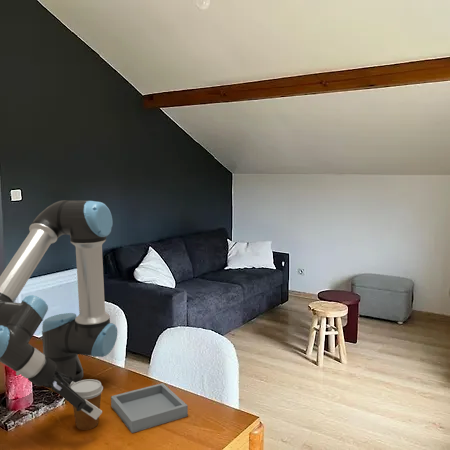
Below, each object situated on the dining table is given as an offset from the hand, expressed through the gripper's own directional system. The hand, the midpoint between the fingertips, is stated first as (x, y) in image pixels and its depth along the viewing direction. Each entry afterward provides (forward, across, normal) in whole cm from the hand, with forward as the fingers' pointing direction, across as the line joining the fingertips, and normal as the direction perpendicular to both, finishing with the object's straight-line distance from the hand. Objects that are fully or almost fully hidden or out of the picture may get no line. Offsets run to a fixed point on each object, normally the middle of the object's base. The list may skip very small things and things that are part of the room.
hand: (92, 405), depth 139 cm
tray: (+16, +2, +8) cm, 18 cm away
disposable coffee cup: (+3, 0, -5) cm, 6 cm away
